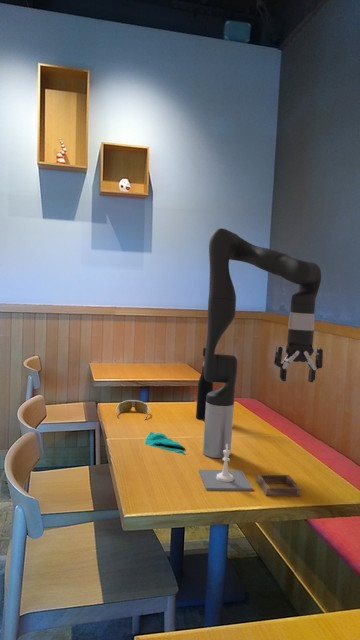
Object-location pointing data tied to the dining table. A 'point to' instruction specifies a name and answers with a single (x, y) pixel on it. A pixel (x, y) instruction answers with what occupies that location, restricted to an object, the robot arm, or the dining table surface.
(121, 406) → the sunglasses
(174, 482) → the dining table surface
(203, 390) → the wine bottle
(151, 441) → the cloth
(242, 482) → the mat
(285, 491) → the square frame
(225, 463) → the chess piece
